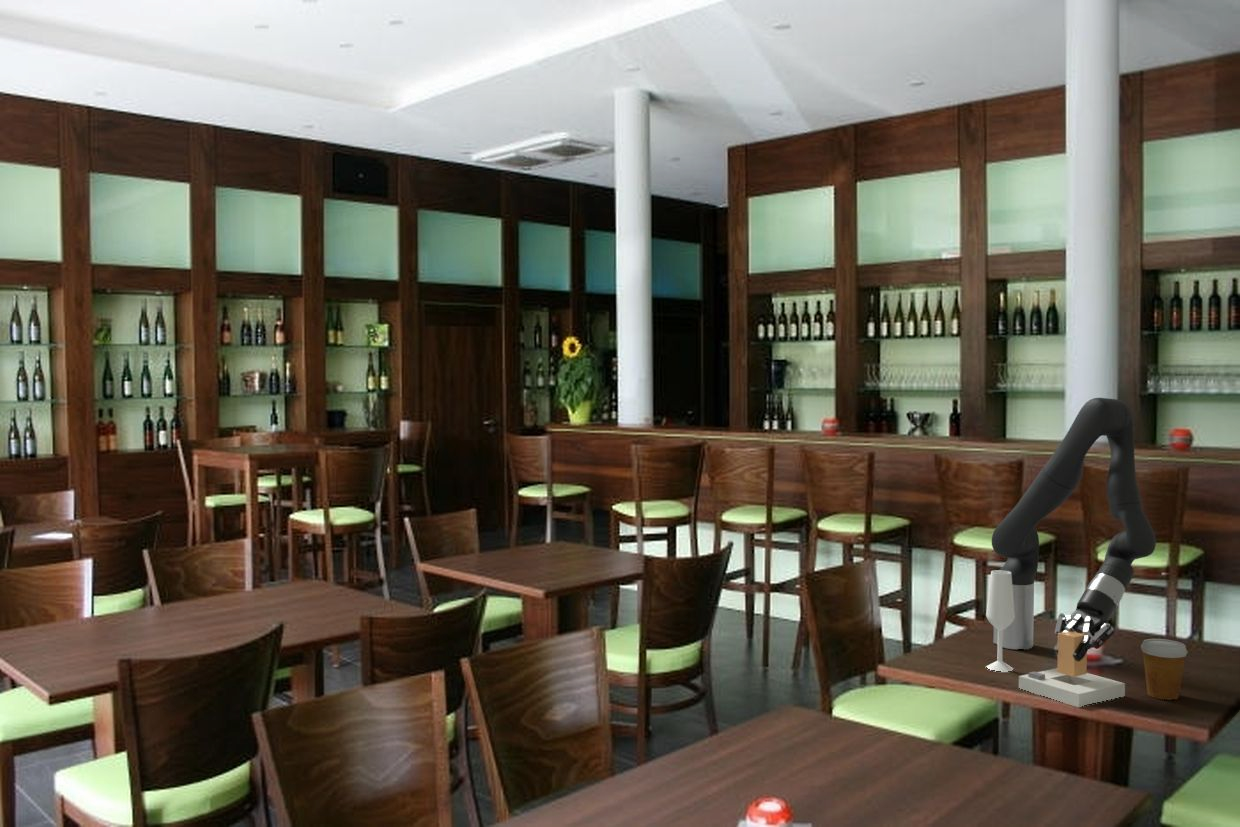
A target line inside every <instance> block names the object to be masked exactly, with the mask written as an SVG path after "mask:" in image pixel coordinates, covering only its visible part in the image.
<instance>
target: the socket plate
mask: <svg viewBox="0 0 1240 827" xmlns="http://www.w3.org/2000/svg"><path fill="white" fill-rule="evenodd" d="M1019 688H1020V689H1019ZM1018 689H1019V690H1021V689H1023V690H1022V691H1024V690H1026V691H1025V692H1027V691H1029V692H1028V693H1030V692H1031V694H1033V693H1034V694H1033V695H1037V696H1040V695H1041V696H1040V697H1043V696H1045V697H1044V698H1046V697H1048V698H1047V699H1049V698H1051V699H1050V700H1053V699H1054V700H1053V701H1056V700H1057V701H1056V702H1059V701H1060V703H1062V702H1063V704H1066V705H1068V706H1069V705H1070V706H1073V707H1076V708H1083V707H1085V706H1084V705H1087V704H1092V703H1096V704H1098V703H1097V702H1100V703H1103V702H1102V701H1104V702H1107V701H1106V700H1108V701H1112V700H1115V698H1117V699H1120V698H1119V697H1121V698H1125V697H1124V696H1125V695H1126V683H1124V682H1122V681H1117V680H1114V679H1111V678H1108V677H1102V676H1100V675H1095V674H1092V673H1090V672H1087V674H1084V675H1080V676H1075V677H1073V676H1069V675H1066V674H1062V673H1059V672H1057V667H1056V668H1055V667H1054V668H1051V669H1046V670H1042V671H1034V670H1032V671H1030V672H1028V673H1026V674H1022V675H1018ZM1111 699H1112V700H1111ZM1092 705H1093V704H1092ZM1082 706H1083V707H1082ZM1087 706H1088V705H1087Z"/></svg>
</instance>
